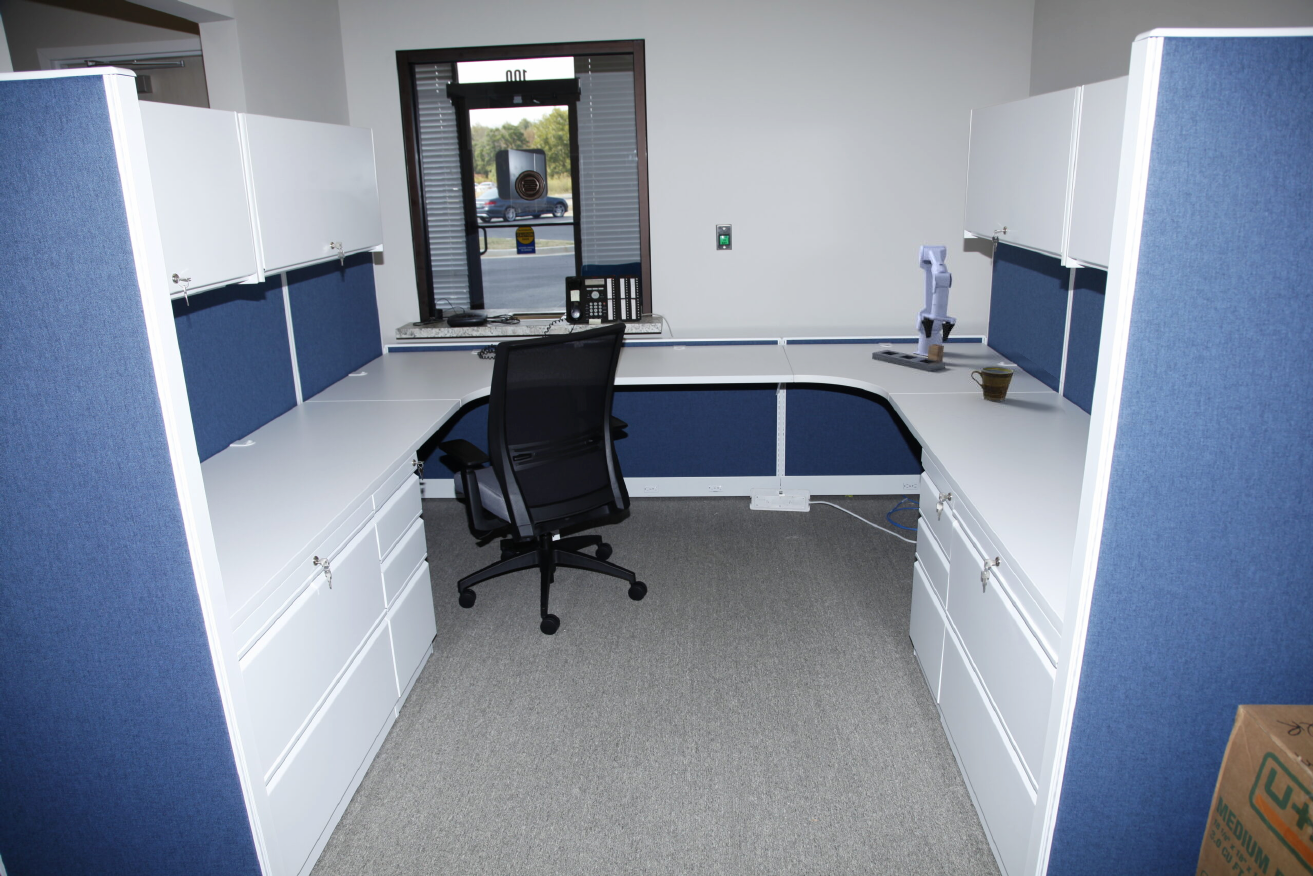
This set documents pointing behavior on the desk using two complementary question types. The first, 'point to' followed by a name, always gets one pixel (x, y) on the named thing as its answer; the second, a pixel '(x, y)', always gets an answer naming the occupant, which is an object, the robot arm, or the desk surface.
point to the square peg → (936, 352)
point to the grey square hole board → (909, 360)
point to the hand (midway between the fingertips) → (936, 339)
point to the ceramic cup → (994, 382)
